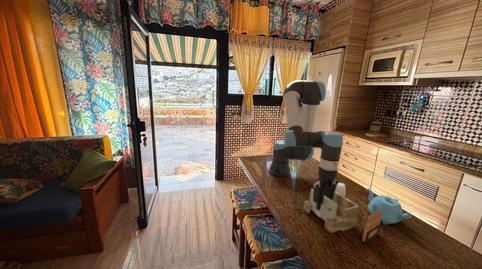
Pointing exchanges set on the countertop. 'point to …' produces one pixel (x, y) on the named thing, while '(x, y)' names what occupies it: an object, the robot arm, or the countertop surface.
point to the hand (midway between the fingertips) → (320, 214)
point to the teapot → (387, 208)
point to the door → (325, 207)
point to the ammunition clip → (372, 226)
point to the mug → (341, 189)
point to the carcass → (340, 214)
